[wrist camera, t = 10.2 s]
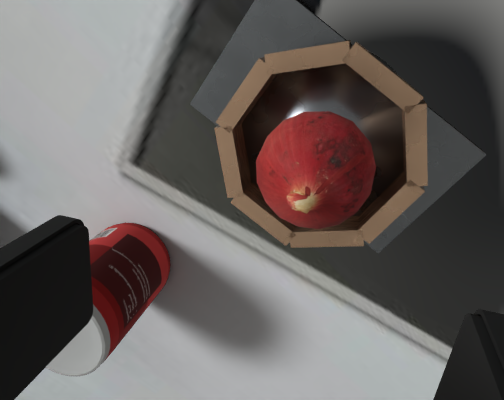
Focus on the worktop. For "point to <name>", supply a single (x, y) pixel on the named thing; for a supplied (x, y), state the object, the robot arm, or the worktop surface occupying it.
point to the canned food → (115, 294)
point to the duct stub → (322, 100)
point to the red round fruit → (316, 169)
